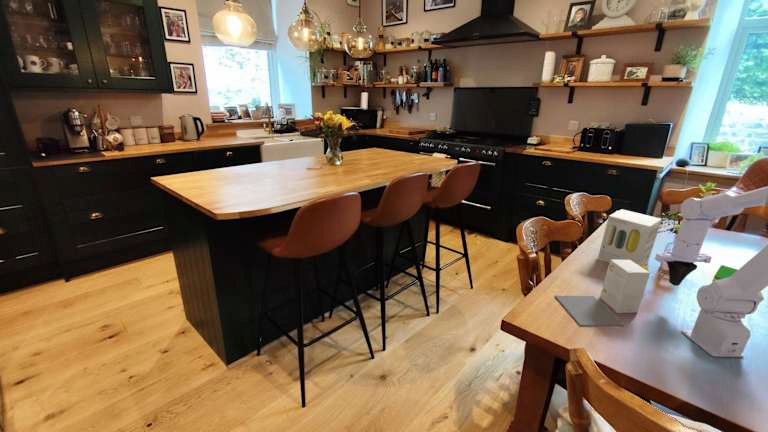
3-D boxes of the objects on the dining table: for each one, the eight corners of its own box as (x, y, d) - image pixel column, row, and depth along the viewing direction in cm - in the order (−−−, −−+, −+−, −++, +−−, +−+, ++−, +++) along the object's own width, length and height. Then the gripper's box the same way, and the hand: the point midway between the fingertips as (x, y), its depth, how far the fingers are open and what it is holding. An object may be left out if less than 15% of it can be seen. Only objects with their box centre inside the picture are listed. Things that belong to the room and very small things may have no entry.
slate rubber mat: (623, 326, 96) (624, 325, 95) (580, 325, 95) (580, 324, 95) (593, 297, 109) (593, 296, 109) (554, 296, 108) (555, 295, 108)
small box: (637, 313, 102) (651, 272, 97) (616, 313, 101) (628, 272, 97) (618, 297, 109) (630, 259, 105) (598, 297, 109) (609, 258, 104)
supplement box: (596, 258, 134) (607, 215, 128) (609, 250, 142) (621, 208, 136) (636, 273, 124) (651, 226, 118) (648, 262, 132) (663, 218, 126)
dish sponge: (745, 278, 124) (748, 272, 123) (740, 291, 116) (742, 285, 115) (719, 270, 129) (721, 264, 128) (711, 282, 121) (714, 276, 120)
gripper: (702, 235, 103) (686, 277, 107) (653, 234, 102) (639, 276, 107) (724, 245, 96) (707, 289, 101) (672, 244, 95) (657, 288, 100)
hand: (673, 283), depth 103 cm, fingers closed
